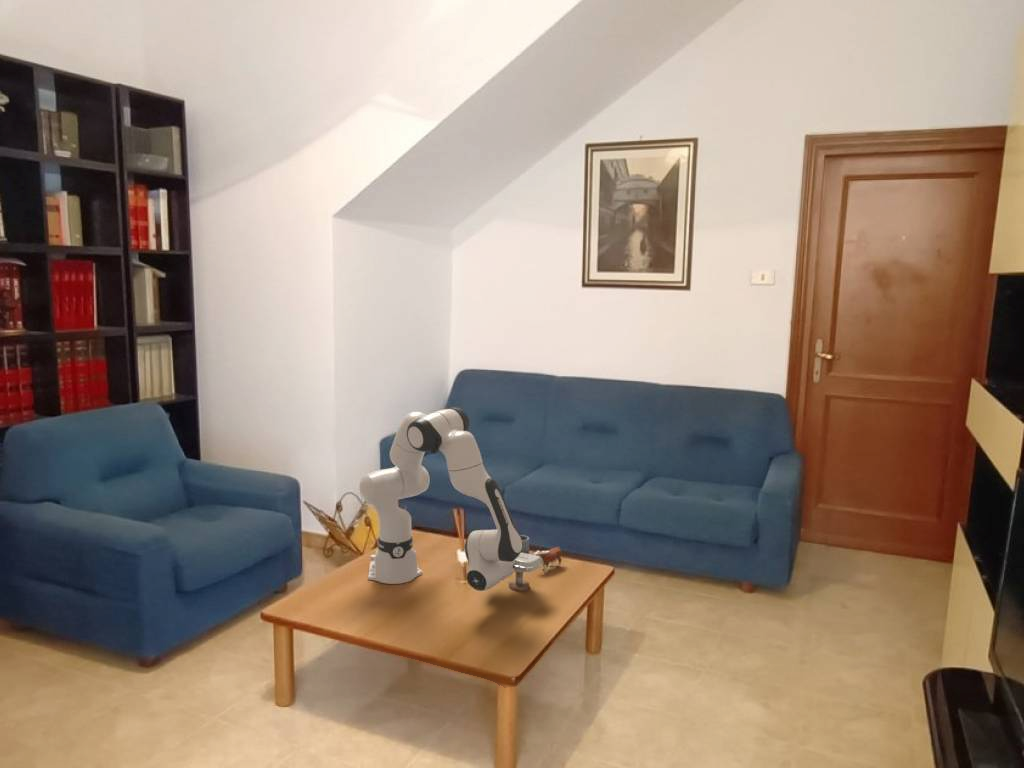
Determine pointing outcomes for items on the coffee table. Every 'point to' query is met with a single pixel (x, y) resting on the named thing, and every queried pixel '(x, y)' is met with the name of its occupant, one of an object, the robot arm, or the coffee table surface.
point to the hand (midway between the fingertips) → (521, 551)
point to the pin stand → (519, 583)
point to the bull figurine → (549, 557)
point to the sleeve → (524, 546)
